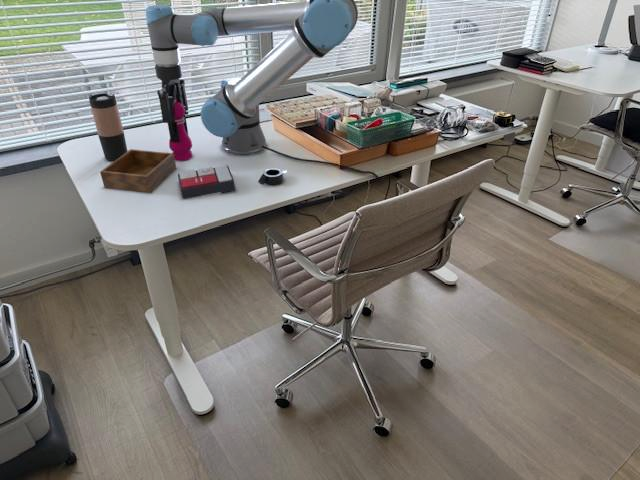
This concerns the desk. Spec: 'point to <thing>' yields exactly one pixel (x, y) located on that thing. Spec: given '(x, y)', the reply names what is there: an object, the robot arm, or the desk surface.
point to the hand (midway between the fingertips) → (179, 138)
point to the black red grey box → (206, 181)
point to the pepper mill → (181, 136)
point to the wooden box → (138, 171)
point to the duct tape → (272, 177)
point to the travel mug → (108, 125)
